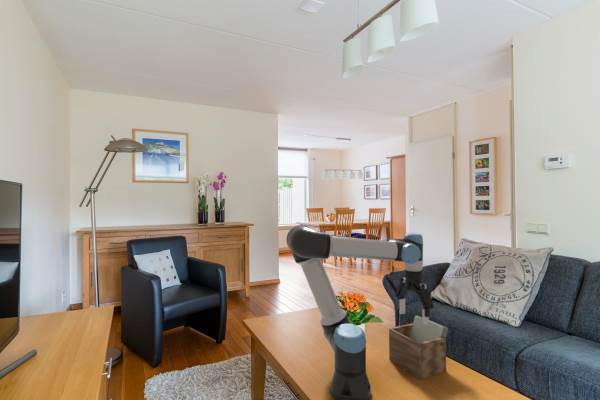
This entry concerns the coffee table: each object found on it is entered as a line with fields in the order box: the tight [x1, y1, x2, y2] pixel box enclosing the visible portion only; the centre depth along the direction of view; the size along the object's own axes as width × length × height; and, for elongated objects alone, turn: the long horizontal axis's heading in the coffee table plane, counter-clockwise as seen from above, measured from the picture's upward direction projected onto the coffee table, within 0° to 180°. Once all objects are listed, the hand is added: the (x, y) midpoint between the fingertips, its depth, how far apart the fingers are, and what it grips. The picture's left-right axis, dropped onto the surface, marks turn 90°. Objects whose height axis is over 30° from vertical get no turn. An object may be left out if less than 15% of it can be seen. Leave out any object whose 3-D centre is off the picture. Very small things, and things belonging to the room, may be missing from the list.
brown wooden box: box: [388, 322, 447, 381], centre depth 140 cm, size 15×19×14 cm
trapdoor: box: [410, 315, 449, 343], centre depth 143 cm, size 17×15×5 cm
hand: (413, 318), depth 140 cm, fingers open, 13 cm apart
